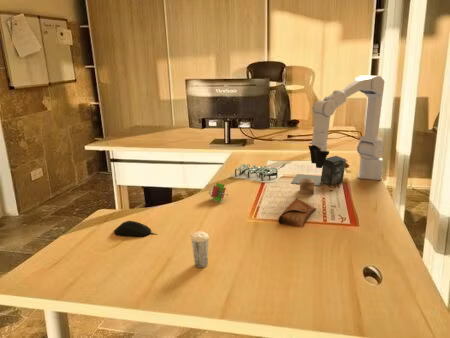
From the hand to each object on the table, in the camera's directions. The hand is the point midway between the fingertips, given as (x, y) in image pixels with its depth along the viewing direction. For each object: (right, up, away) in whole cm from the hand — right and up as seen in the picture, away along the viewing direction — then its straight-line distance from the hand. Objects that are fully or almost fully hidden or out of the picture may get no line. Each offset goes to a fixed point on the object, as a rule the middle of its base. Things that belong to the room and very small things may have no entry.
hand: (316, 165), depth 151 cm
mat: (0, -6, +14) cm, 15 cm away
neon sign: (-18, -3, +28) cm, 34 cm away
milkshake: (-43, -27, -51) cm, 72 cm away
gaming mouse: (-64, -22, -32) cm, 75 cm away
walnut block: (-4, -11, 0) cm, 11 cm away
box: (+9, -7, +10) cm, 15 cm away
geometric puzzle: (-39, -13, -6) cm, 42 cm away
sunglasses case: (-12, -18, -22) cm, 30 cm away
